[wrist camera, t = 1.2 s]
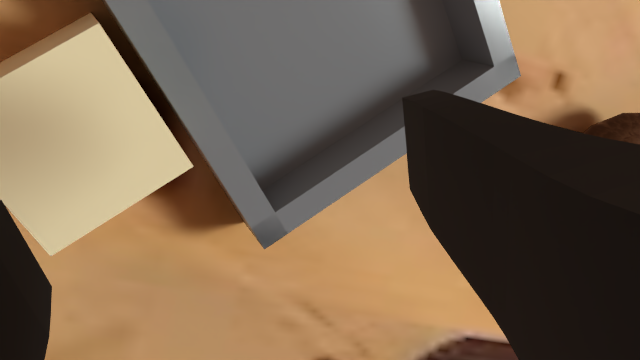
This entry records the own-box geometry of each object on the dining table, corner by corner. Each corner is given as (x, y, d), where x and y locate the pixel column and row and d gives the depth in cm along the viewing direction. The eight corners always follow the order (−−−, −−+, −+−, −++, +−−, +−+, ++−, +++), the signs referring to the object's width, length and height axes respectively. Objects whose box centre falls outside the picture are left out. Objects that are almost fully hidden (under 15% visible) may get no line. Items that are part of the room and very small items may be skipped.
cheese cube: (52, 199, 19) (50, 256, 15) (-43, 85, 17) (-73, 118, 13) (167, 129, 20) (193, 166, 16) (90, 12, 18) (99, 23, 14)
